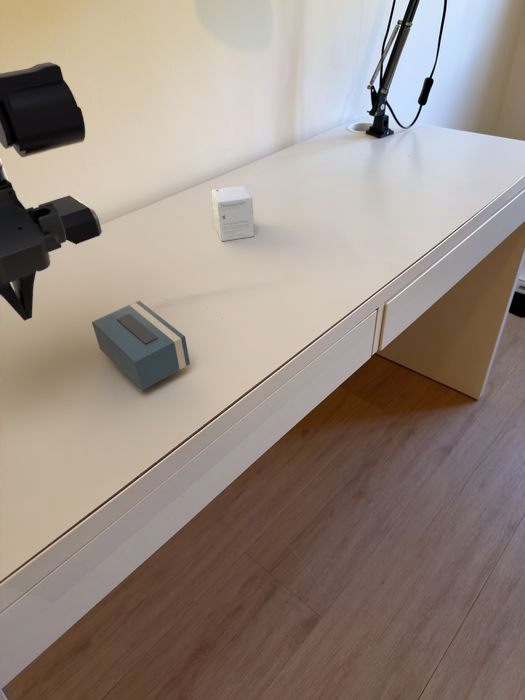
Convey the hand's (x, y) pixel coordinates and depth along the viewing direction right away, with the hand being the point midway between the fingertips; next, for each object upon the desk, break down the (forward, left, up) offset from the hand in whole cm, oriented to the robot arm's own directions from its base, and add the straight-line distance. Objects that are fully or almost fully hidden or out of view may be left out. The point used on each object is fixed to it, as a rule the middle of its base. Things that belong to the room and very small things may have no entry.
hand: (26, 317), depth 55 cm
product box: (+5, +46, -12) cm, 48 cm away
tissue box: (+6, +10, -10) cm, 15 cm away
